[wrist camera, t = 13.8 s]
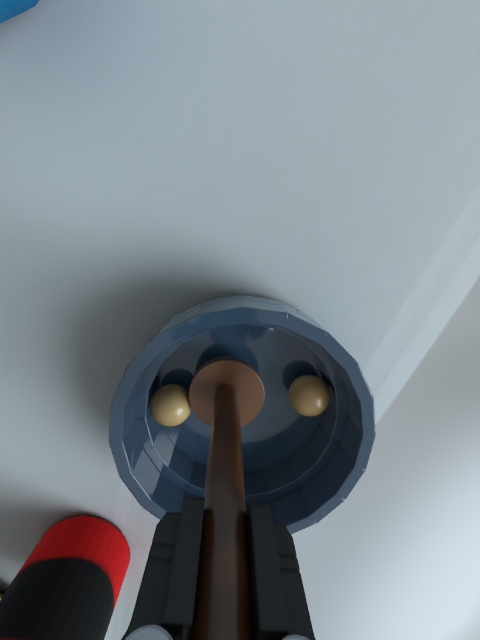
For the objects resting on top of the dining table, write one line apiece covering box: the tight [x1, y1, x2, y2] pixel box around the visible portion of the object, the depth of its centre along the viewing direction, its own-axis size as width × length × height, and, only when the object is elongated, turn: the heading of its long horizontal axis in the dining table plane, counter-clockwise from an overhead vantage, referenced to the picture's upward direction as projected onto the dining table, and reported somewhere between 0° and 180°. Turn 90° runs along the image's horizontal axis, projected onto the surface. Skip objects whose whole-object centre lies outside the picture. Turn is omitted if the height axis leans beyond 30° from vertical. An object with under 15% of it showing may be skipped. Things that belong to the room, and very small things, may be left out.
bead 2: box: [288, 375, 330, 416], centre depth 20 cm, size 3×3×3 cm
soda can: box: [0, 516, 130, 640], centre depth 19 cm, size 8×8×12 cm
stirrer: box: [189, 356, 265, 640], centre depth 13 cm, size 5×5×15 cm
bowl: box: [109, 295, 376, 534], centre depth 20 cm, size 16×16×5 cm
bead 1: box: [150, 384, 192, 427], centre depth 20 cm, size 3×3×3 cm
